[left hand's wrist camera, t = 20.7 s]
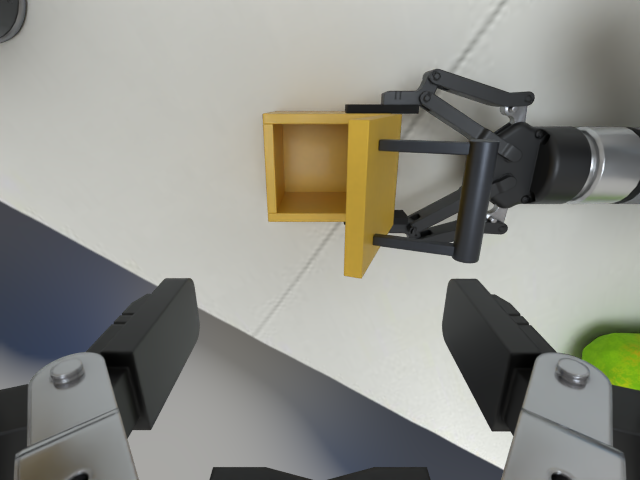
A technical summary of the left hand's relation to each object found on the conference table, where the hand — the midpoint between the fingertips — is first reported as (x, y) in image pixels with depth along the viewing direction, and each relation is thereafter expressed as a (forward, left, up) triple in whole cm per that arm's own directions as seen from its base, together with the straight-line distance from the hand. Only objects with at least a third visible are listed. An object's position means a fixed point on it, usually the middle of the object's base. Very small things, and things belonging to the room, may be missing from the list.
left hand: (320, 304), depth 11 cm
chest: (+1, 0, -33) cm, 33 cm away
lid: (+4, -1, -17) cm, 18 cm away
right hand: (+2, 0, -26) cm, 26 cm away
